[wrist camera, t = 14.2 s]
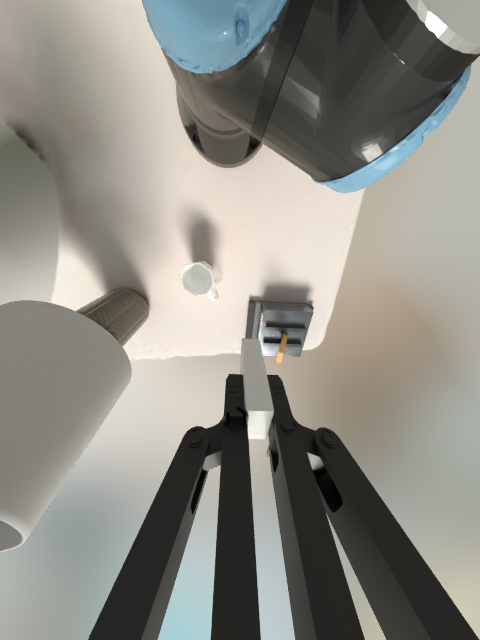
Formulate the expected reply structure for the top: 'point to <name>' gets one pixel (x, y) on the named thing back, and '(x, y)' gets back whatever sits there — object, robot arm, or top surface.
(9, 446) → the lamp
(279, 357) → the lever
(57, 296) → the top surface
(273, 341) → the box
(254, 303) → the gray slab
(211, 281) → the cup
